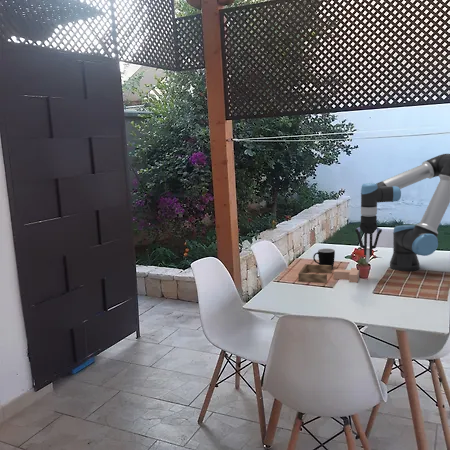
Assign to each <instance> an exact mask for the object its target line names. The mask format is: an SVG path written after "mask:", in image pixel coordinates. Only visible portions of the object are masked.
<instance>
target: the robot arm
mask: <svg viewBox="0 0 450 450" xmlns="http://www.w3.org/2000/svg"><path fill="white" fill-rule="evenodd" d="M436 177H439V182H438V184H437V186H436V187H435V190H434V192H433V194H432V196H431V199H430V201H429V203H428V205H427V207H426V209H425V211H424V213H423V216H422V217H421V220H420V222H419V223H417V224H415V225H414V224H408V225H407V224H404V225H396V226H394V227H393V232H392V233H393V243H392V244H393V249H392V250H393V251H392V252H393V253H392V256H391V258H390V262H389V268H390V269H392V270H395V271H401V272H404V271H405V272H410V271H411V272H412V271H418V270H419V269H421V268H420V266H421V265H420V264H421V263H420V262H419V258H418V256H422V257H423V256H424V257H425V256H427V257H428V256H430V255H432V254H434V253H435V252H436V250H437V248H438V247H439V242H438V241H439V239H438V235H439V231H438V228H439V226H440V223H441V221H442V220H443V219H444V215H445V214H446V211H447V209H448V207H449V205H450V153H442V154H439V155H437V156H433V157H432V158H429V159H427V160H424V161H423V162H422V163H421V164H420V165H417V166H415V167H413V168H411V169H408V170H406V171H403V172H401V173H398V174H396V175H394V176H391V177H389V178H386V179H384V180H381V181H379V182H377V183H376V182H375V183H373V182H372V183H371V182H369V183H368V182H367V183H362V184H361V188H360V225H359V227H357V228H355V229H354V230H355V231H354V232H355V233H356V235H357V239H358V243H359V246H360V247H359V248H361V249H363V255H364V256H365V257H366V258H365V262H366V263H371V262H370V261H371V260H370V259H371V256H372V255H373V250H374V249H376V248H377V244H378V241H379V238H380V234H382V232H383V229H382V228H379V227H378V224H377V223H378V222H377V221H378V220H377V218H378V216H377V214H378V204H379V203H394V202H398V201H400V199H401V197H402V189H404V188H407V187H410V186H411V185H413V184H416V183H418V182H421V181H423V180H426V179H432V178H436ZM361 231H362V233H363V236H364V237H363V239H362V235H361ZM375 232H376V236H375V240H374V242H373V234H374V233H375ZM368 235H369V246H368ZM373 243H374V244H373ZM368 247H369V248H368Z"/></svg>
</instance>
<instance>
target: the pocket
mask: <svg viewBox="0 0 450 450" xmlns="http://www.w3.org/2000/svg"><path fill="white" fill-rule="evenodd" d="M332 273H333V268H332V265H319V264H310V263H309V264H307V263H306V264H304V265H303V267H302V268H301V269H300V271H299V272H298V273H297V274H298V282H306V283H323V284H324V283H325V284H326V283H328V274H332Z"/></svg>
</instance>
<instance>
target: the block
mask: <svg viewBox="0 0 450 450" xmlns="http://www.w3.org/2000/svg"><path fill="white" fill-rule="evenodd" d="M359 279H360V269H359V270H357V267H351V268H350V269H334V270H333V280H347V281H348V282H349V283H355V284H356V283H358V282H359Z"/></svg>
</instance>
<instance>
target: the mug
mask: <svg viewBox="0 0 450 450" xmlns="http://www.w3.org/2000/svg"><path fill="white" fill-rule="evenodd" d="M335 254H336V252H335V249H334V248H320V249H319V248H318V251H317V252H316V253H314V254H313V256H312V259H313V261H314V263H316V265H332V269H333V268H334V264H335V256H336V255H335ZM317 255H318V261H317V260H316V256H317Z"/></svg>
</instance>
